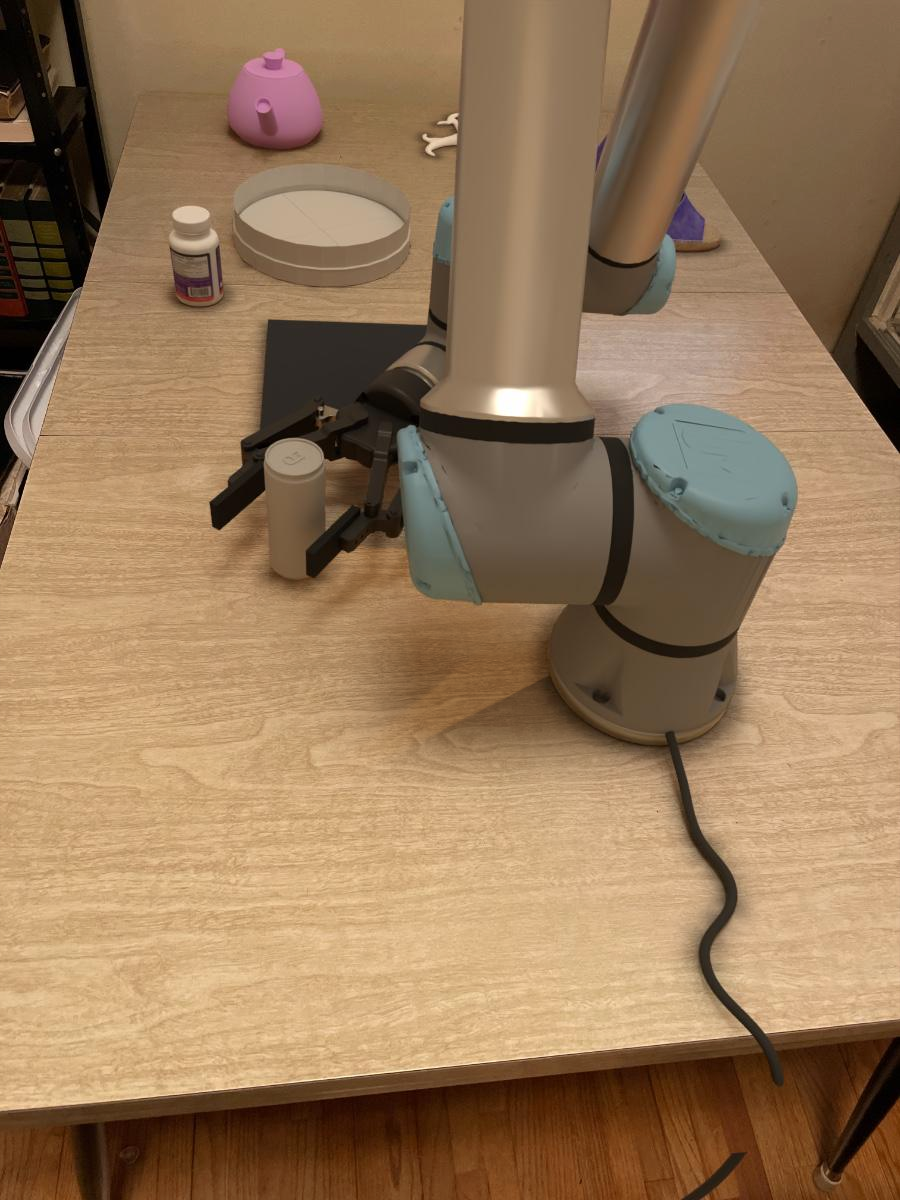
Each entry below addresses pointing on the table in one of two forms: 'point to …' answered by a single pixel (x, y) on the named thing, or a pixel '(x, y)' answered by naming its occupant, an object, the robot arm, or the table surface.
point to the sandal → (686, 224)
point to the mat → (327, 361)
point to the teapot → (274, 103)
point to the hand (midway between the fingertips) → (261, 540)
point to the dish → (321, 224)
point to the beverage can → (294, 503)
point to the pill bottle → (195, 257)
